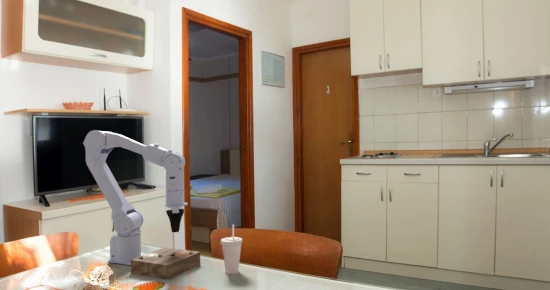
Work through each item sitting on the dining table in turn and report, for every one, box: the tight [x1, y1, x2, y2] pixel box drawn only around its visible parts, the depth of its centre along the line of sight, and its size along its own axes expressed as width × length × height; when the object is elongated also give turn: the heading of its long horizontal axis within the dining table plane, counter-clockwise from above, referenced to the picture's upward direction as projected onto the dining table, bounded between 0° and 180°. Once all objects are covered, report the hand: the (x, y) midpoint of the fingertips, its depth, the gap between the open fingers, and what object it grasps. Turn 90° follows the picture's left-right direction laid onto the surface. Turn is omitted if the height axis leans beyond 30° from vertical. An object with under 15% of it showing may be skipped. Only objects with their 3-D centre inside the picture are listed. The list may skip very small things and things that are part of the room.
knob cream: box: [142, 252, 158, 261], centre depth 117 cm, size 4×4×3 cm
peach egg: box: [175, 250, 190, 258], centre depth 120 cm, size 4×4×3 cm
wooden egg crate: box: [130, 247, 201, 281], centre depth 118 cm, size 14×15×4 cm
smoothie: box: [220, 224, 243, 275], centre depth 115 cm, size 6×6×14 cm
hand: (175, 231), depth 127 cm, fingers closed
